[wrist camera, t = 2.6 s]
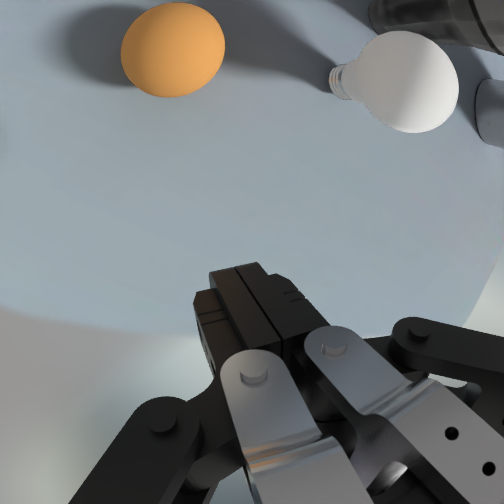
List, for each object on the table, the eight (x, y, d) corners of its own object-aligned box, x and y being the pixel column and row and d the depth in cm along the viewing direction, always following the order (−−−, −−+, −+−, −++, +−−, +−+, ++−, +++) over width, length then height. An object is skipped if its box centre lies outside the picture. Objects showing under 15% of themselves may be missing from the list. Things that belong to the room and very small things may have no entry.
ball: (210, 16, 17) (235, -14, 11) (214, 95, 19) (241, 88, 14) (122, 25, 15) (116, -6, 10) (126, 106, 18) (120, 102, 13)
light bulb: (288, 56, 20) (394, 32, 10) (354, 37, 20) (461, 23, 11) (319, 133, 23) (427, 158, 14) (378, 107, 24) (483, 123, 14)
